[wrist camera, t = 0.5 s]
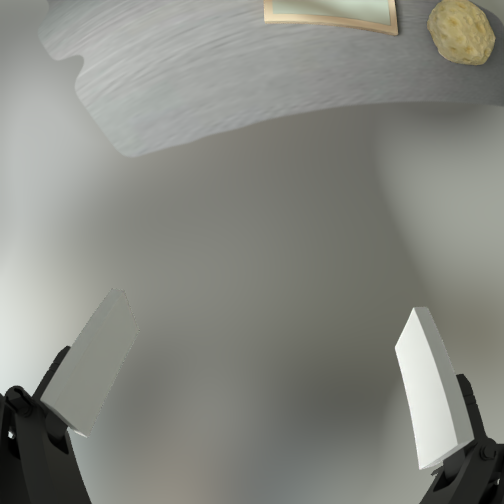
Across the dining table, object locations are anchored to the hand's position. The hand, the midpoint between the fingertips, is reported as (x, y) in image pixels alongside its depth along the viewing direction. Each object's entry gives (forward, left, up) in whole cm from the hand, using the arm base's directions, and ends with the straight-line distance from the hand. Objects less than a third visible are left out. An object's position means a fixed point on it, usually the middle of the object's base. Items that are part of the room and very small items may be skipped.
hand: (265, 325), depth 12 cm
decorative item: (-22, +24, -27) cm, 42 cm away
